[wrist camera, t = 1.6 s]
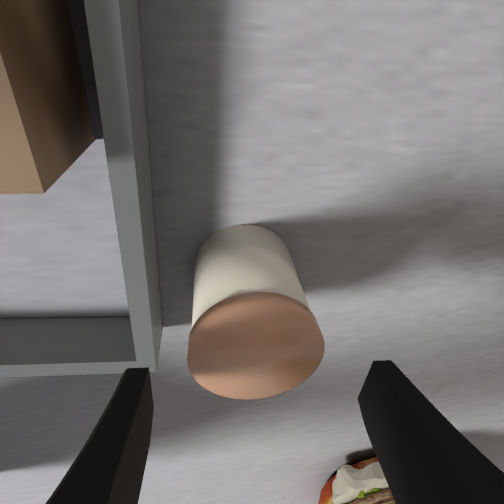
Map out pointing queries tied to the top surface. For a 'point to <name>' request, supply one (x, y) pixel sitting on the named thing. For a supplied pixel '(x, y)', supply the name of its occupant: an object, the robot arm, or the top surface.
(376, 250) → the top surface
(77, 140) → the block
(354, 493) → the burger
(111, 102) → the tote
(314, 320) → the jar
